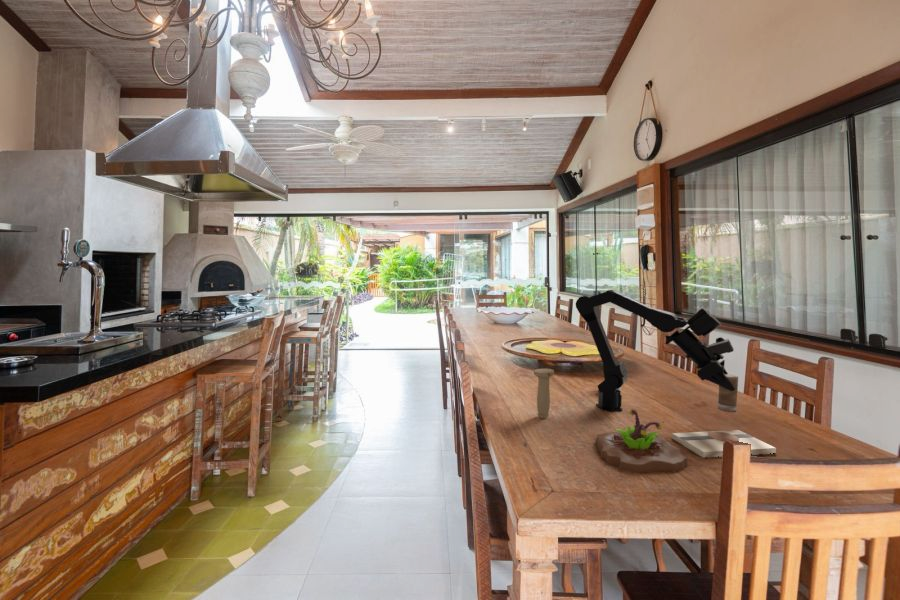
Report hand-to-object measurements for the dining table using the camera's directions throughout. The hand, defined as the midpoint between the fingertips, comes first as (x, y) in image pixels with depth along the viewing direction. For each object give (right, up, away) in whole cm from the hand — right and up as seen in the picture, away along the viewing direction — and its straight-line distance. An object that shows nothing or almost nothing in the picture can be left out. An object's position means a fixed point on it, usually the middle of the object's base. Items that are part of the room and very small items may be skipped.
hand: (733, 388), depth 121 cm
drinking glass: (-19, -10, +41) cm, 47 cm away
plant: (-34, -14, -15) cm, 40 cm away
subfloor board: (-10, -13, -10) cm, 19 cm away
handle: (-53, -12, +11) cm, 55 cm away
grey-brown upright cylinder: (-1, -7, +1) cm, 7 cm away
